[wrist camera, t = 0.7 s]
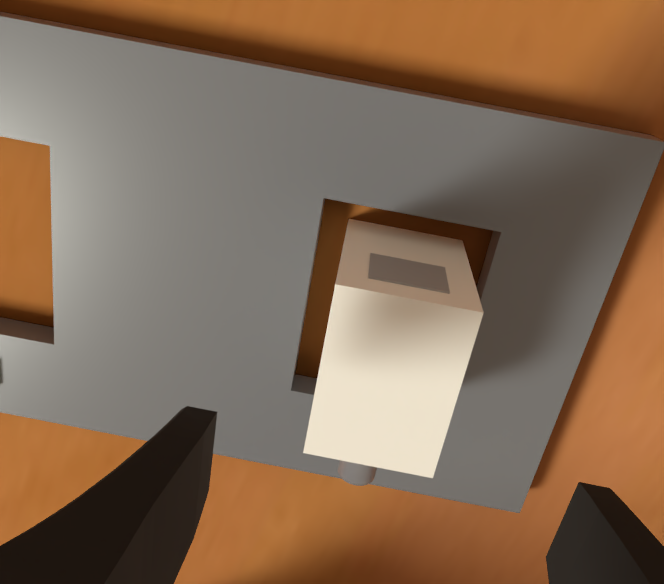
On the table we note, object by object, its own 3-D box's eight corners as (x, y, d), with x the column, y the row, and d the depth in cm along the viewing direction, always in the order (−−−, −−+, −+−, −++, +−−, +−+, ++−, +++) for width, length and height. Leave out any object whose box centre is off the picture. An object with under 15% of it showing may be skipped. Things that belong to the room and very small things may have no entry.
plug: (408, 433, 22) (412, 543, 18) (311, 415, 22) (290, 519, 18) (462, 238, 19) (484, 310, 15) (349, 216, 19) (335, 282, 15)
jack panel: (514, 493, 23) (521, 519, 22) (-134, 367, 23) (-162, 386, 22) (652, 135, 17) (671, 144, 16) (-202, -28, 18) (-245, -29, 16)
